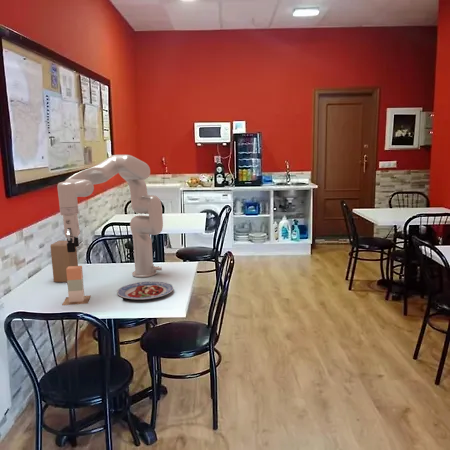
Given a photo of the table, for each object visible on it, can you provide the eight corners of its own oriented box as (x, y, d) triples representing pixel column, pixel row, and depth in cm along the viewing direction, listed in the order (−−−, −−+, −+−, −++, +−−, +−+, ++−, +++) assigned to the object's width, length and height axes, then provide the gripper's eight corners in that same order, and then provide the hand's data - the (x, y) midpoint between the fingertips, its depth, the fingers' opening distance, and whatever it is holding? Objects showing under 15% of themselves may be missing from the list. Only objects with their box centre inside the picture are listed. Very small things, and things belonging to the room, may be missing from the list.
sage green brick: (83, 287, 214) (82, 276, 213) (82, 290, 210) (81, 279, 209) (69, 288, 213) (68, 277, 212) (68, 291, 209) (67, 280, 208)
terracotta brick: (67, 280, 208) (66, 269, 207) (69, 277, 212) (68, 266, 212) (81, 279, 209) (80, 268, 208) (82, 276, 213) (82, 265, 212)
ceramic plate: (129, 285, 237) (128, 279, 237) (179, 286, 233) (179, 280, 233) (108, 302, 212) (108, 296, 212) (164, 304, 208) (164, 297, 208)
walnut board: (91, 297, 219) (91, 295, 218) (88, 305, 208) (88, 303, 208) (66, 299, 217) (66, 297, 217) (62, 307, 206) (61, 305, 206)
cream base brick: (84, 298, 215) (83, 287, 214) (83, 301, 211) (82, 290, 210) (70, 299, 214) (69, 288, 213) (69, 302, 210) (68, 291, 209)
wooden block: (79, 277, 253) (76, 240, 250) (71, 282, 244) (68, 244, 240) (61, 277, 254) (58, 240, 251) (53, 282, 245) (49, 244, 241)
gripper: (75, 213, 197) (79, 253, 201) (81, 206, 214) (84, 244, 218) (56, 214, 196) (60, 255, 200) (63, 208, 213) (67, 245, 217)
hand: (73, 249), depth 209 cm, fingers open, 9 cm apart
